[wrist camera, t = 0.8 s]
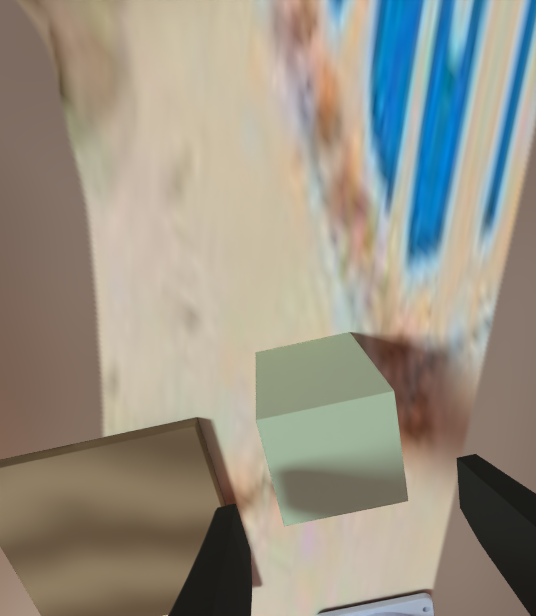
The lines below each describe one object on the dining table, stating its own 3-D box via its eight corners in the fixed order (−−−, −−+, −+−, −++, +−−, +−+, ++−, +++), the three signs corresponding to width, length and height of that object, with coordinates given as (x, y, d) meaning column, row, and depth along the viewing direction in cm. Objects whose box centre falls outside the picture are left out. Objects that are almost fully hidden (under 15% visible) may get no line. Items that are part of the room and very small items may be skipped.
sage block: (362, 413, 19) (408, 500, 14) (275, 431, 19) (284, 526, 14) (349, 331, 18) (394, 391, 12) (255, 352, 18) (255, 420, 12)
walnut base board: (250, 584, 23) (250, 597, 22) (60, 622, 23) (53, 637, 22) (196, 417, 19) (194, 426, 18) (-29, 465, 19) (-41, 476, 18)
